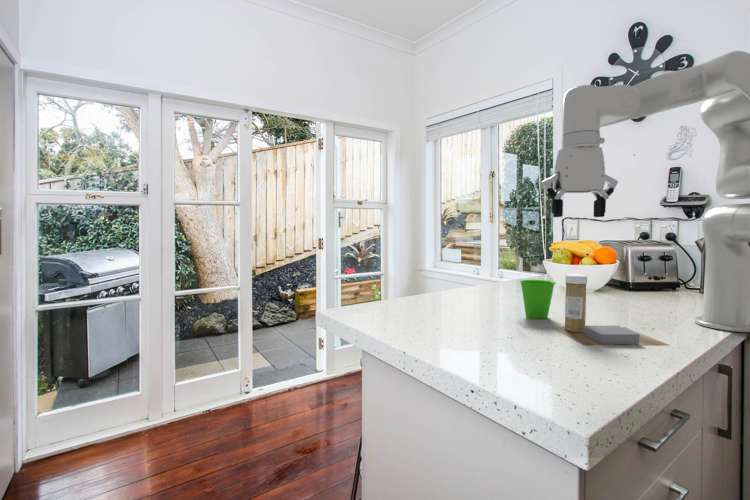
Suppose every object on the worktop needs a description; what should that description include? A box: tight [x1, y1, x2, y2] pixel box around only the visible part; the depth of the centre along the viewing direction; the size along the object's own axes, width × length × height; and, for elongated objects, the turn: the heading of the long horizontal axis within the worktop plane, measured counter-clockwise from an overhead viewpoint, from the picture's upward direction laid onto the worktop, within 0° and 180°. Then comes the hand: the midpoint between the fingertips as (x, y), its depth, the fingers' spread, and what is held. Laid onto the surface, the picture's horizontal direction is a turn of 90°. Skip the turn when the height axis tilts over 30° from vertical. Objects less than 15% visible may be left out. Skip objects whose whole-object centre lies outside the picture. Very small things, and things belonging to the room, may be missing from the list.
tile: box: [583, 325, 640, 344], centre depth 81 cm, size 2×7×8 cm
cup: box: [519, 279, 556, 320], centre depth 102 cm, size 9×9×11 cm
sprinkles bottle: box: [564, 273, 588, 333], centre depth 88 cm, size 5×5×14 cm
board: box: [552, 326, 670, 346], centre depth 84 cm, size 18×14×1 cm
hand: (578, 216), depth 86 cm, fingers open, 9 cm apart
